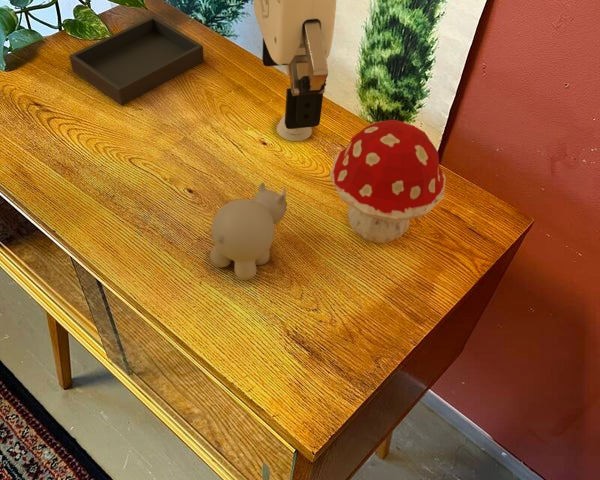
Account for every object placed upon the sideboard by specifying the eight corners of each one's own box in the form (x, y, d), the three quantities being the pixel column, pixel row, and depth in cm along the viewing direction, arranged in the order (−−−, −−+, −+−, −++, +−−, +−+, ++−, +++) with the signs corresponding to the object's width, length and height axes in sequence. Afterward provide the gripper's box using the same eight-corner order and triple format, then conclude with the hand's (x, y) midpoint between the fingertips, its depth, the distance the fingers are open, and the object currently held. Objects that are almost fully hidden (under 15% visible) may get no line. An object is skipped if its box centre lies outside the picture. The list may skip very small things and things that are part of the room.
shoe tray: (121, 105, 95) (119, 89, 93) (72, 71, 99) (68, 55, 97) (203, 61, 103) (203, 45, 101) (155, 31, 107) (153, 15, 105)
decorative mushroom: (317, 187, 88) (330, 91, 76) (419, 187, 90) (447, 93, 78) (327, 267, 80) (344, 174, 68) (440, 267, 82) (475, 175, 70)
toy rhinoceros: (307, 233, 83) (313, 183, 76) (247, 292, 77) (248, 243, 70) (262, 207, 85) (264, 155, 79) (199, 261, 79) (196, 211, 72)
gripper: (232, -145, 54) (234, 45, 68) (280, -40, 45) (270, 157, 58) (321, -146, 56) (305, 40, 70) (385, -46, 46) (352, 148, 60)
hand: (289, 93), depth 64 cm, fingers open, 9 cm apart
